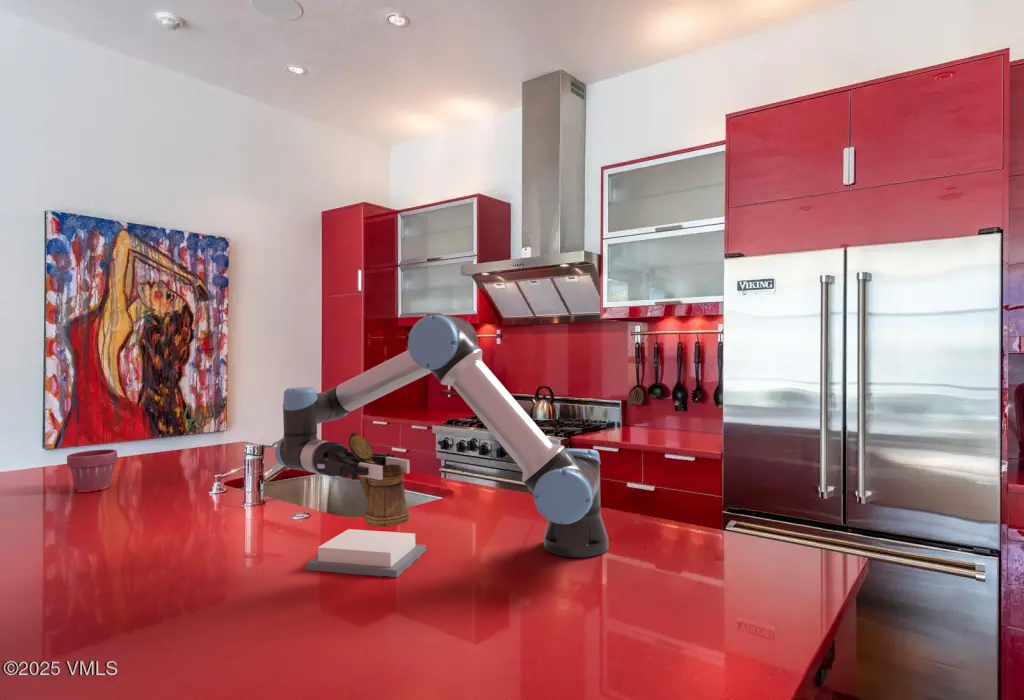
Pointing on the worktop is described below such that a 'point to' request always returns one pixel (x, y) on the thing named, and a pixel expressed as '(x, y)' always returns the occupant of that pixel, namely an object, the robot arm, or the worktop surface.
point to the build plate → (368, 568)
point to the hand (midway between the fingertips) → (394, 469)
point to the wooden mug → (381, 489)
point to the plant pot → (92, 468)
